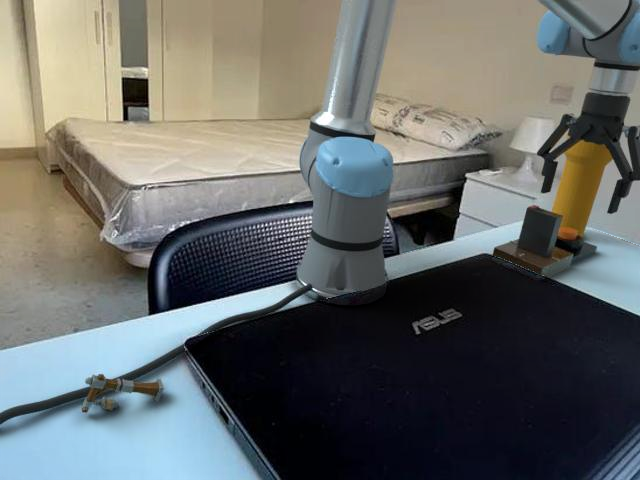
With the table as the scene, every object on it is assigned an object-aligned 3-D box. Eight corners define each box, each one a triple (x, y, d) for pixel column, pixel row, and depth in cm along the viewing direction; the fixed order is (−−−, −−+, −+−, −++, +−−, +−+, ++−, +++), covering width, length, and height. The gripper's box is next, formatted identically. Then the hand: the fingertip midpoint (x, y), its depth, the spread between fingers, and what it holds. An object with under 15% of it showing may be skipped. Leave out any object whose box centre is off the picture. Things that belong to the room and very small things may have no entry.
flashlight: (566, 114, 111) (613, 119, 109) (536, 223, 121) (579, 228, 120) (580, 121, 101) (632, 127, 100) (547, 238, 112) (594, 244, 110)
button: (570, 242, 102) (573, 234, 101) (553, 236, 104) (556, 228, 104) (578, 239, 104) (581, 231, 103) (562, 233, 107) (564, 225, 106)
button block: (570, 265, 99) (575, 249, 98) (529, 248, 105) (533, 233, 104) (595, 253, 106) (600, 238, 104) (554, 238, 112) (558, 224, 111)
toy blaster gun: (71, 404, 52) (87, 368, 51) (146, 409, 57) (161, 376, 56) (73, 416, 51) (89, 378, 50) (149, 420, 55) (165, 386, 55)
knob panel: (538, 282, 90) (543, 267, 89) (490, 261, 98) (493, 246, 96) (570, 267, 98) (574, 253, 96) (522, 248, 105) (526, 235, 104)
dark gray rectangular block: (551, 255, 95) (563, 214, 92) (545, 257, 94) (557, 216, 90) (523, 243, 99) (533, 204, 96) (516, 245, 98) (527, 206, 95)
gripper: (692, 103, 86) (651, 218, 94) (554, 84, 103) (530, 182, 112) (677, 104, 81) (635, 225, 90) (535, 84, 99) (511, 187, 107)
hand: (577, 202), depth 101 cm, fingers open, 13 cm apart
